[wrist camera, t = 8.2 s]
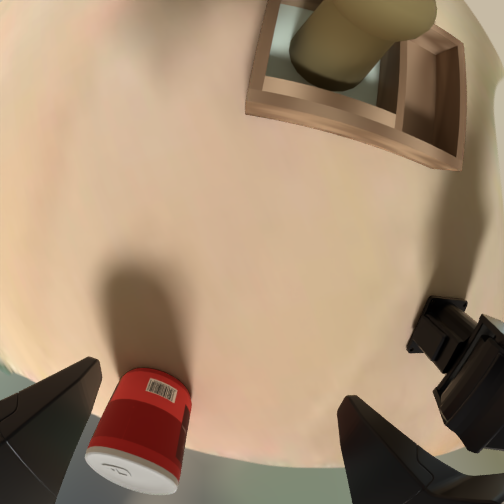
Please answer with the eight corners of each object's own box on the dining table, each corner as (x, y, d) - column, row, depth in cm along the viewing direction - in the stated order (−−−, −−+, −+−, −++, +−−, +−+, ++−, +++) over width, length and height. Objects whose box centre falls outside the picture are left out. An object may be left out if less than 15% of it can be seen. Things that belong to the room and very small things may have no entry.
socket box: (438, 54, 15) (463, 43, 12) (431, 168, 19) (461, 171, 15) (272, -8, 14) (277, -35, 10) (245, 114, 18) (245, 100, 14)
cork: (287, 20, 15) (321, -76, 4) (363, 33, 15) (437, -35, 4) (289, 86, 16) (339, 4, 6) (368, 98, 16) (468, 54, 6)
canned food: (109, 366, 24) (66, 445, 13) (178, 362, 23) (151, 459, 13) (138, 414, 26) (114, 488, 15) (202, 413, 26) (191, 498, 15)
